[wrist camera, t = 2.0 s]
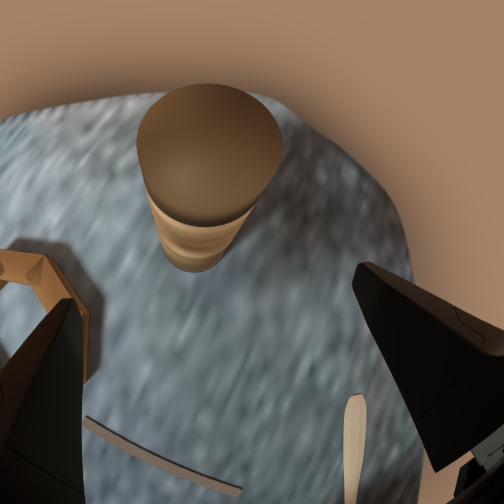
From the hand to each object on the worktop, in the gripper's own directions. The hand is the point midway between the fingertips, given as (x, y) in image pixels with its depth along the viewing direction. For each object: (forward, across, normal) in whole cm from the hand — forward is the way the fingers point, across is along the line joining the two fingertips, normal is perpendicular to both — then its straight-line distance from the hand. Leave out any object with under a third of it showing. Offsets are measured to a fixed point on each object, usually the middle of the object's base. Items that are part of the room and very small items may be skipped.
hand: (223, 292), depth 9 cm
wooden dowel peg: (+11, 0, +5) cm, 12 cm away
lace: (0, +5, +16) cm, 16 cm away
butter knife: (-8, -9, +24) cm, 26 cm away
